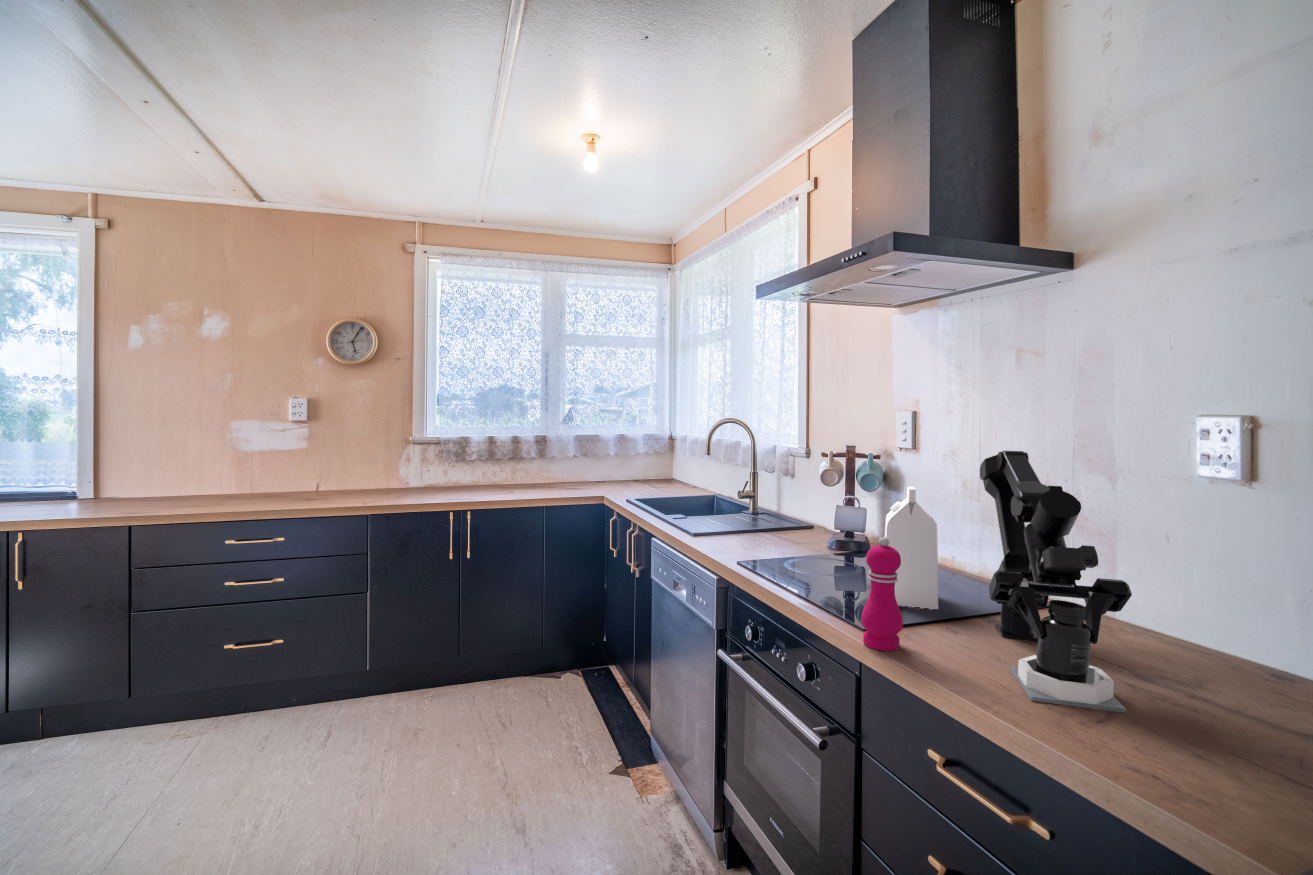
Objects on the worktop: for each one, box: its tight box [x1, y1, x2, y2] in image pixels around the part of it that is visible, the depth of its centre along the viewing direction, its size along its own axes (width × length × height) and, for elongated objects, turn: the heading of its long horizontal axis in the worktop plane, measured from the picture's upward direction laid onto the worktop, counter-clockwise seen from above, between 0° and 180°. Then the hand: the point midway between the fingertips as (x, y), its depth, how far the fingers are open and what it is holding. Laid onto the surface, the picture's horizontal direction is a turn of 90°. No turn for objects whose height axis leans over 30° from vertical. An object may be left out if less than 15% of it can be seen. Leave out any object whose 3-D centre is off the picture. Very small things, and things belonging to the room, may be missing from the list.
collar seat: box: [1009, 654, 1127, 713], centre depth 95 cm, size 12×12×3 cm
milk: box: [884, 486, 939, 610], centre depth 142 cm, size 12×12×26 cm
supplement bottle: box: [1036, 599, 1092, 684], centre depth 95 cm, size 7×7×12 cm
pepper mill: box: [860, 536, 904, 652], centre depth 113 cm, size 7×7×20 cm
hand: (1068, 640), depth 94 cm, fingers closed on supplement bottle, 7 cm apart
